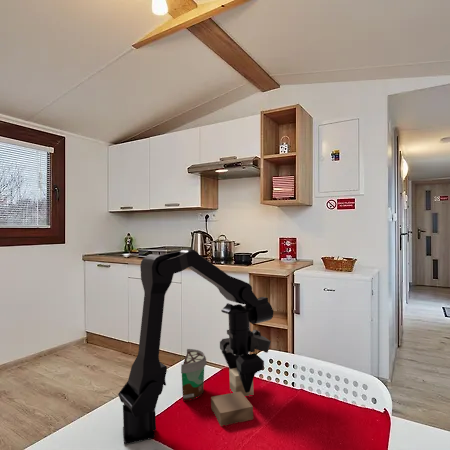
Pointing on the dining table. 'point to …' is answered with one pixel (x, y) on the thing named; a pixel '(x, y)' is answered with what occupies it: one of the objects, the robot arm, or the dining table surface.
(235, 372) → the birch block
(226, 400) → the walnut base
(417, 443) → the dining table surface
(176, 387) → the dining table surface
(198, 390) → the food container
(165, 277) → the robot arm
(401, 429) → the dining table surface
